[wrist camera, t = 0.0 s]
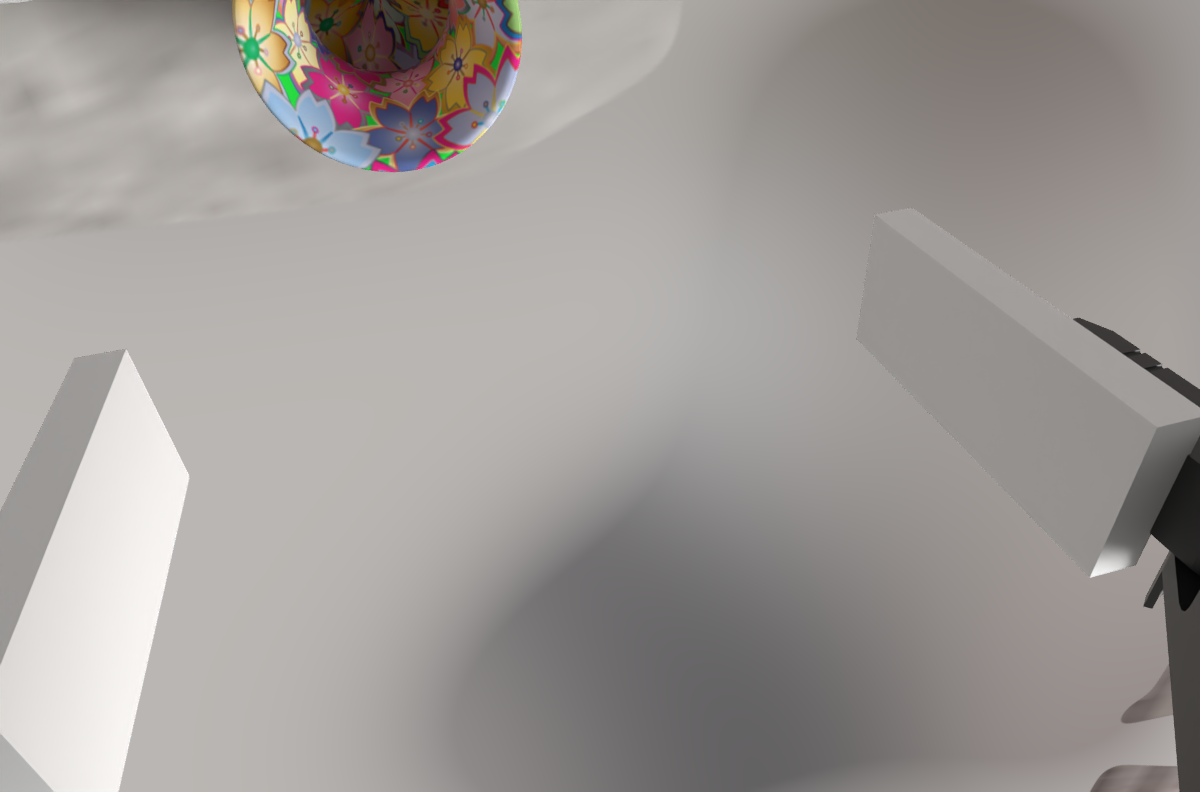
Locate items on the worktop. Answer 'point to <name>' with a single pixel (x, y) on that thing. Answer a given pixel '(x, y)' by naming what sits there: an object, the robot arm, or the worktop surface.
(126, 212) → the worktop surface
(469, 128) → the mug
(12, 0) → the cup
